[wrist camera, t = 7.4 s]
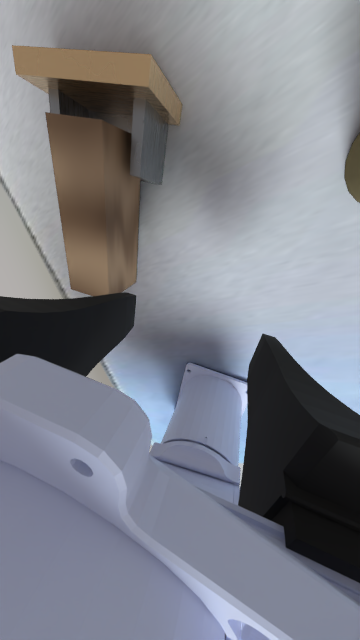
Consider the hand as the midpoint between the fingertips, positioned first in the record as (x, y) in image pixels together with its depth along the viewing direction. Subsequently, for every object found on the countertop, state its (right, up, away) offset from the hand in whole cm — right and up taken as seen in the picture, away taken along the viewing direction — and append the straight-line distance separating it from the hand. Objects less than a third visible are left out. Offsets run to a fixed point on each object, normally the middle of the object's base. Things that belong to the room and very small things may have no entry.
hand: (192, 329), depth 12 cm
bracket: (-5, +16, +6) cm, 18 cm away
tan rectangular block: (-6, +10, +8) cm, 15 cm away
